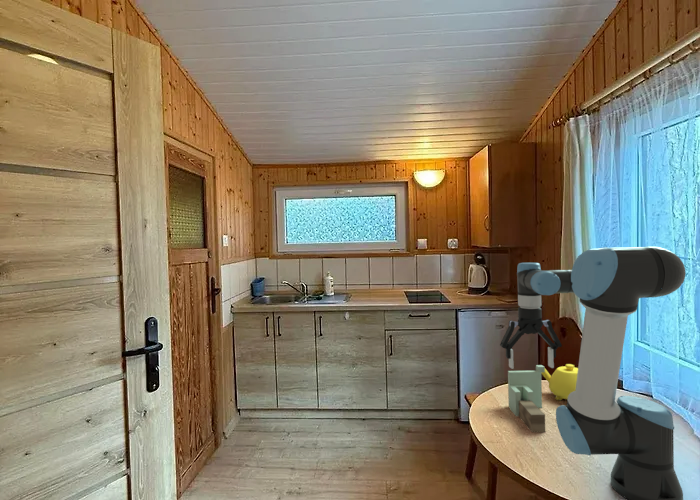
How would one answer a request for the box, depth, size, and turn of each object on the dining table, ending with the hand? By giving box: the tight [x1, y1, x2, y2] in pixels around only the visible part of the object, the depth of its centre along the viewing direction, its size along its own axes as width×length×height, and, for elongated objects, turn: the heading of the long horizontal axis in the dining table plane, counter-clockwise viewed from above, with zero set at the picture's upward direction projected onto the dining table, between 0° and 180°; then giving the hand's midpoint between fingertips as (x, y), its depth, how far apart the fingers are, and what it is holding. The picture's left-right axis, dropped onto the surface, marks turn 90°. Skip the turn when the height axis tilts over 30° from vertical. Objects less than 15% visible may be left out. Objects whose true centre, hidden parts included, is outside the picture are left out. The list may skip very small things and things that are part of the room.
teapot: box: [541, 363, 578, 401], centre depth 168 cm, size 20×16×14 cm
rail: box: [518, 399, 546, 433], centre depth 147 cm, size 16×4×6 cm, turn 177°
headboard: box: [507, 364, 546, 417], centre depth 156 cm, size 9×13×16 cm
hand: (531, 367), depth 144 cm, fingers open, 13 cm apart
